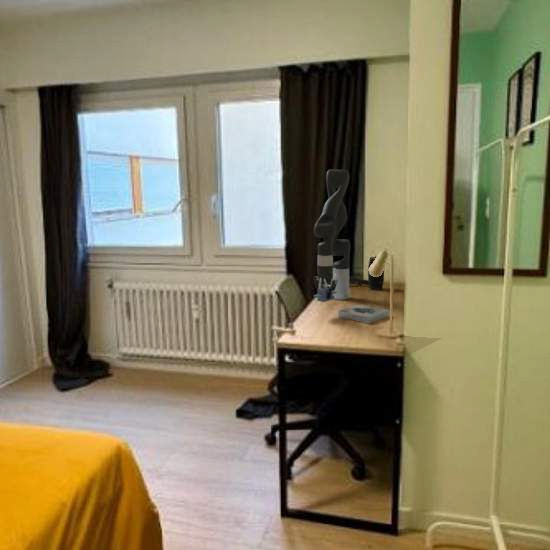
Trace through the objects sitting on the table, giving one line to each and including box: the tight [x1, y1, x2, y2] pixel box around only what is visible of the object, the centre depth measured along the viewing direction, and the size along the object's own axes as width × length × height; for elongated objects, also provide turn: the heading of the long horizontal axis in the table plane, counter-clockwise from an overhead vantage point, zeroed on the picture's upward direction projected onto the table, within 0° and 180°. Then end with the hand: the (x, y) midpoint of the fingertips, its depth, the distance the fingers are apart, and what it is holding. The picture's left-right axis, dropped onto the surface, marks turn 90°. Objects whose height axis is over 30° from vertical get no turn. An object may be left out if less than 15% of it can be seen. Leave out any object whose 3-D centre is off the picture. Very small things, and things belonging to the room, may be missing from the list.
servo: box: [313, 286, 337, 303], centre depth 245 cm, size 4×13×7 cm, turn 135°
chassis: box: [337, 304, 390, 324], centre depth 244 cm, size 18×17×3 cm
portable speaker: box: [367, 256, 385, 291], centre depth 302 cm, size 9×9×20 cm
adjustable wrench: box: [349, 276, 369, 286], centre depth 313 cm, size 8×3×25 cm
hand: (325, 298), depth 245 cm, fingers closed on servo, 4 cm apart
